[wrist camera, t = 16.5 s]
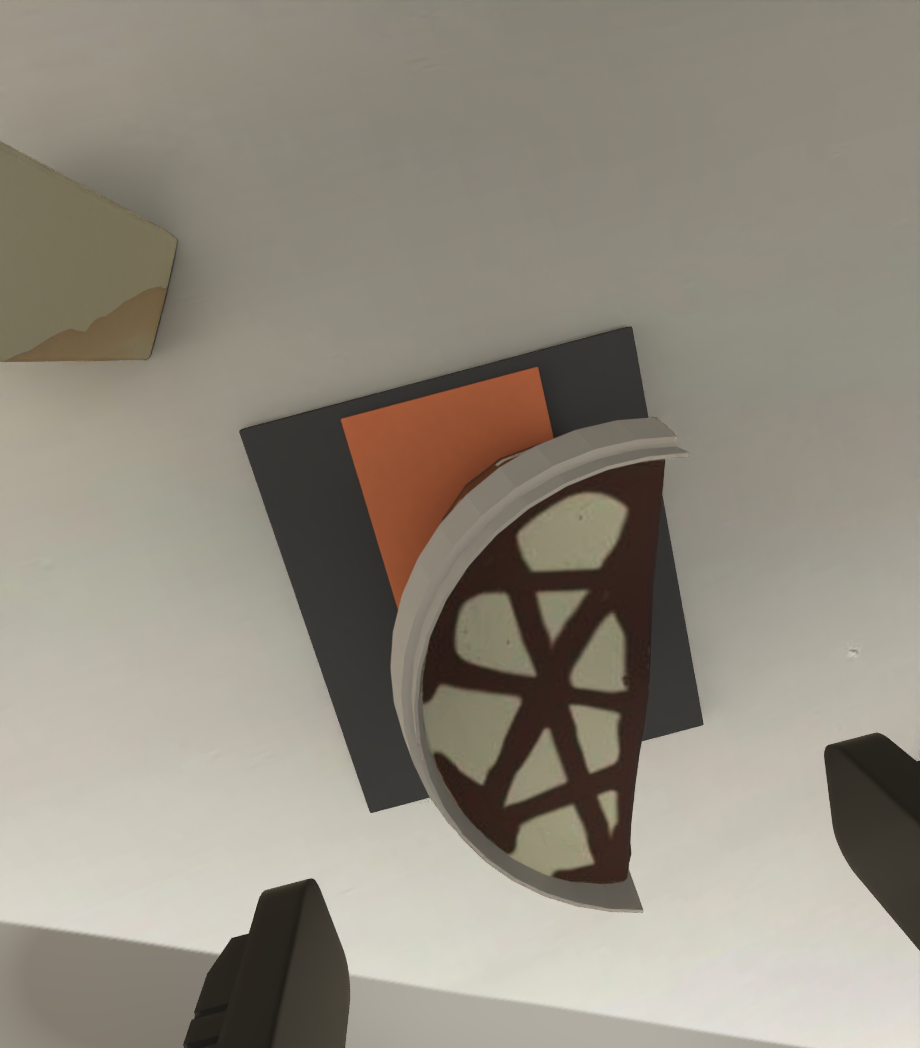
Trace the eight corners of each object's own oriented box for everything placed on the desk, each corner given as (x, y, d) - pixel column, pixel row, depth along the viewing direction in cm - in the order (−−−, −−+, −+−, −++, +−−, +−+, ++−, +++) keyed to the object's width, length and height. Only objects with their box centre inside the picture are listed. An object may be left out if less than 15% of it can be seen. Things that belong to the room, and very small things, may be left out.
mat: (242, 429, 23) (236, 430, 22) (627, 326, 23) (634, 325, 22) (370, 805, 27) (369, 817, 26) (699, 719, 27) (706, 728, 26)
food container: (397, 395, 22) (382, 423, 13) (575, 397, 23) (692, 425, 13) (400, 719, 25) (389, 941, 16) (557, 716, 26) (641, 930, 16)
